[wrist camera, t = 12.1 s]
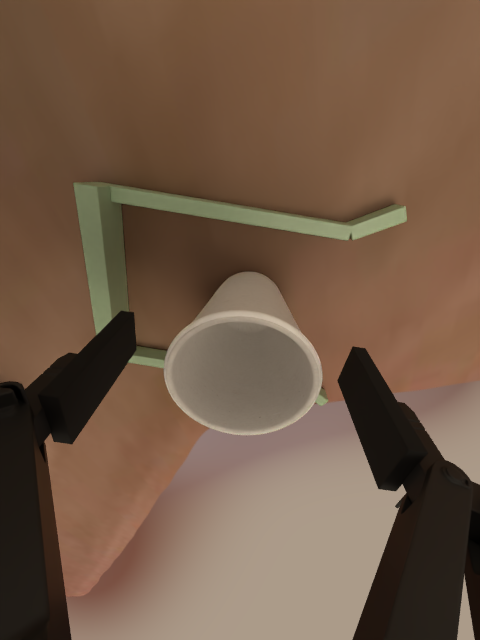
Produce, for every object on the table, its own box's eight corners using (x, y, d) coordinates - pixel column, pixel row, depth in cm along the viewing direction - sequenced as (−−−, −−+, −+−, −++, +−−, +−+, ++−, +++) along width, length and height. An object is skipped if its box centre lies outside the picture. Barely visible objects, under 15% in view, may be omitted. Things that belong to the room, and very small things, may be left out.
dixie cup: (184, 315, 23) (139, 398, 15) (231, 234, 20) (207, 279, 11) (262, 357, 25) (263, 455, 16) (319, 289, 21) (359, 368, 13)
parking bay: (118, 363, 27) (103, 383, 24) (96, 154, 18) (67, 150, 15) (322, 396, 27) (329, 419, 24) (401, 205, 18) (426, 210, 15)
